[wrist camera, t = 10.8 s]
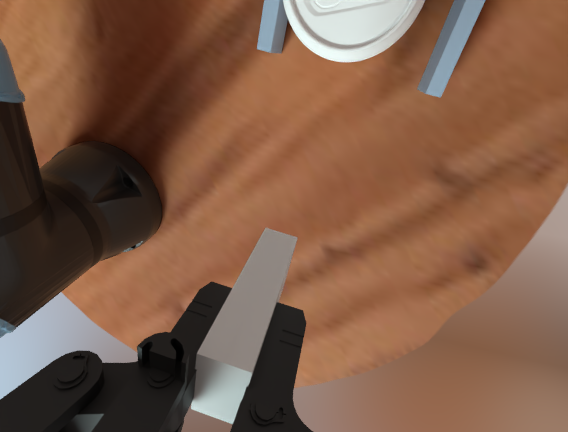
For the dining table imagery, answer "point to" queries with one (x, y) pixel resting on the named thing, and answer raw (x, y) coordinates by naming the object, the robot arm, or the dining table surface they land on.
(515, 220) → the dining table surface
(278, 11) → the corral
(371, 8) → the beverage can
